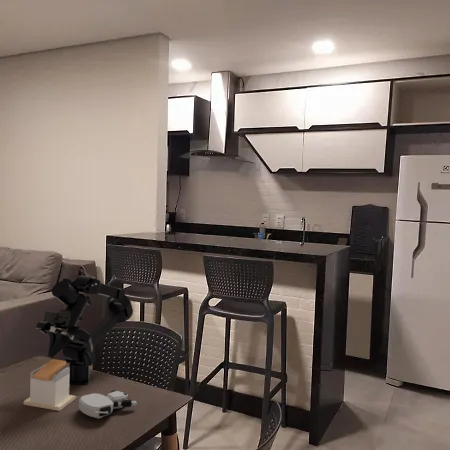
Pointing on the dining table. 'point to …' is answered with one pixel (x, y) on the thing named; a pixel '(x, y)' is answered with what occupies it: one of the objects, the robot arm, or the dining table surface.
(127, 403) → the robot toy
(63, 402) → the box
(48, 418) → the dining table surface
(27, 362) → the dining table surface
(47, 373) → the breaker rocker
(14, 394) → the dining table surface
